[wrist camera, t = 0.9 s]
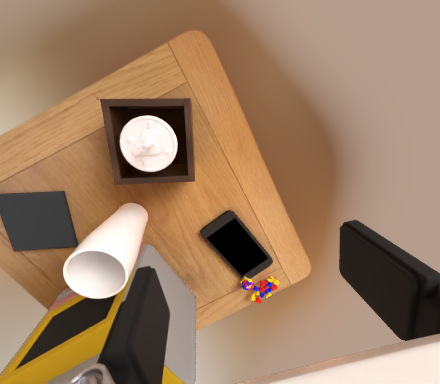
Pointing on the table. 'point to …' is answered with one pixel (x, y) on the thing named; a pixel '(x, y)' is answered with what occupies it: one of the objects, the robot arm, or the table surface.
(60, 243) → the mat
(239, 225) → the smartphone
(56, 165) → the table surface
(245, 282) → the building blocks
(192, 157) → the holder
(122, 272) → the drinking glass
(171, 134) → the smoothie
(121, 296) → the alarm clock
